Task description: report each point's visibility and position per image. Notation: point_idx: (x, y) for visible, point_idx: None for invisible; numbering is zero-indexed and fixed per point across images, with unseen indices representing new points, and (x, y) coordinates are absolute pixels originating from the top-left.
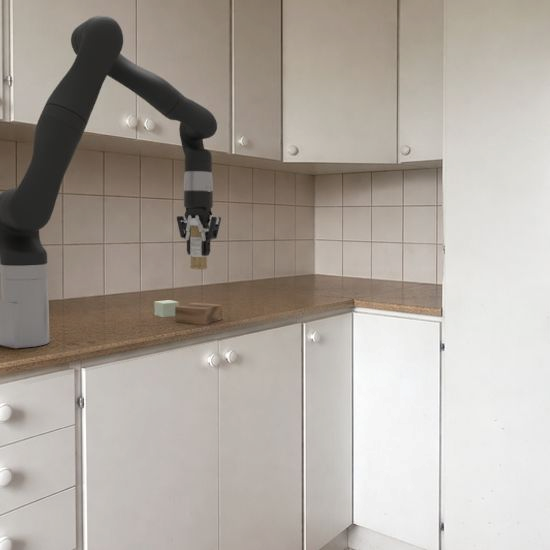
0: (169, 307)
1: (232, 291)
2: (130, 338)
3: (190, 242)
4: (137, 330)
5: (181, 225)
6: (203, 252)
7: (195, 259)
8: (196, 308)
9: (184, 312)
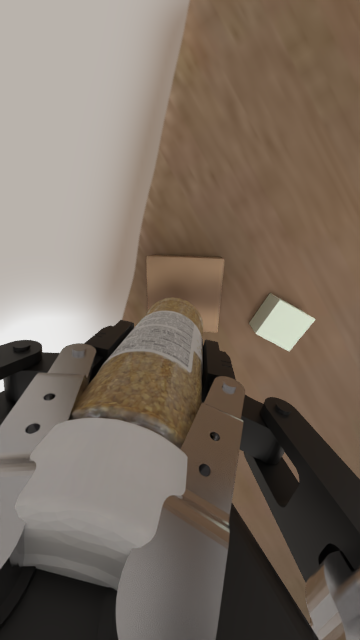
0: (267, 310)
1: (273, 553)
2: (211, 14)
3: (190, 351)
4: (247, 123)
5: (335, 499)
6: (119, 323)
7: (164, 308)
8: (168, 259)
9: (199, 257)
